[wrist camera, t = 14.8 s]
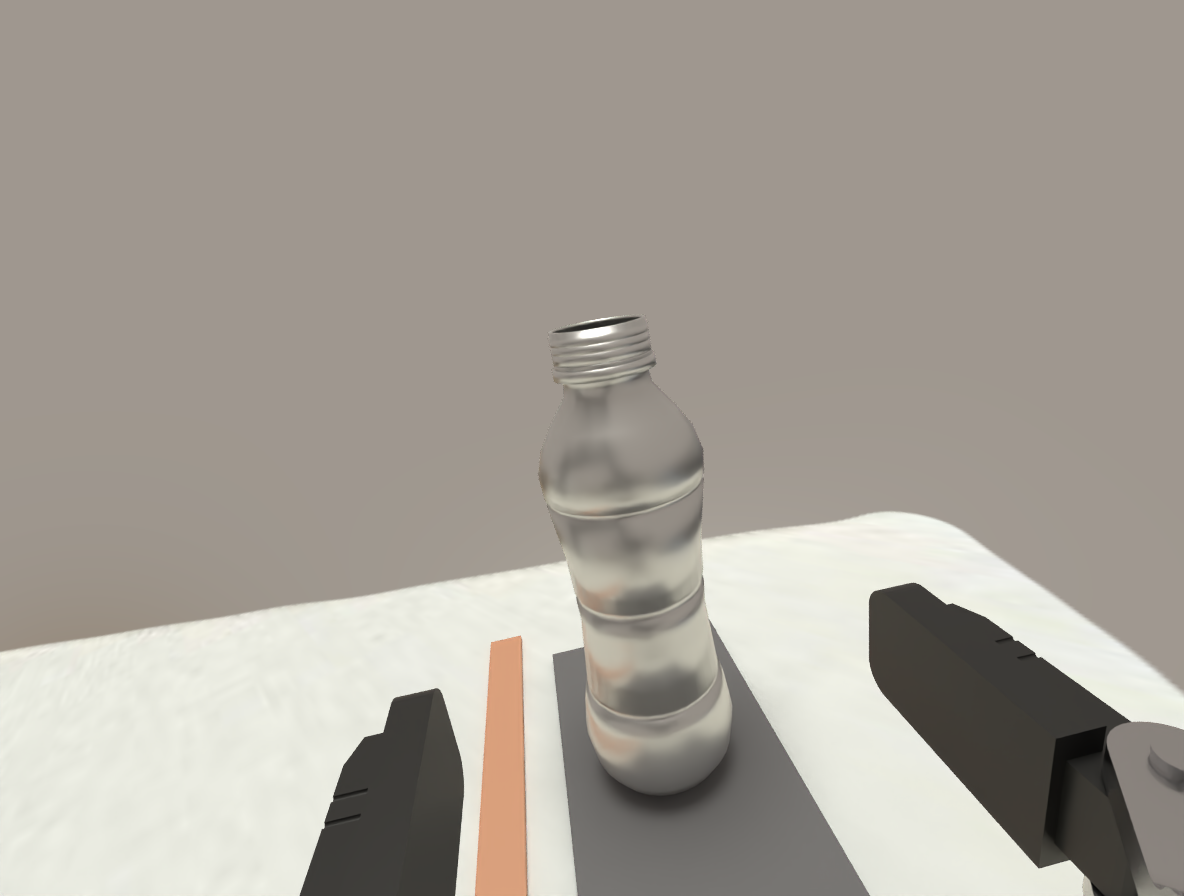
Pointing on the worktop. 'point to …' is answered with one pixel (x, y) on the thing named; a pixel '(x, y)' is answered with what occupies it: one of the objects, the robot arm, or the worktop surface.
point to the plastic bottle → (635, 558)
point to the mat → (698, 813)
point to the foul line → (503, 778)
